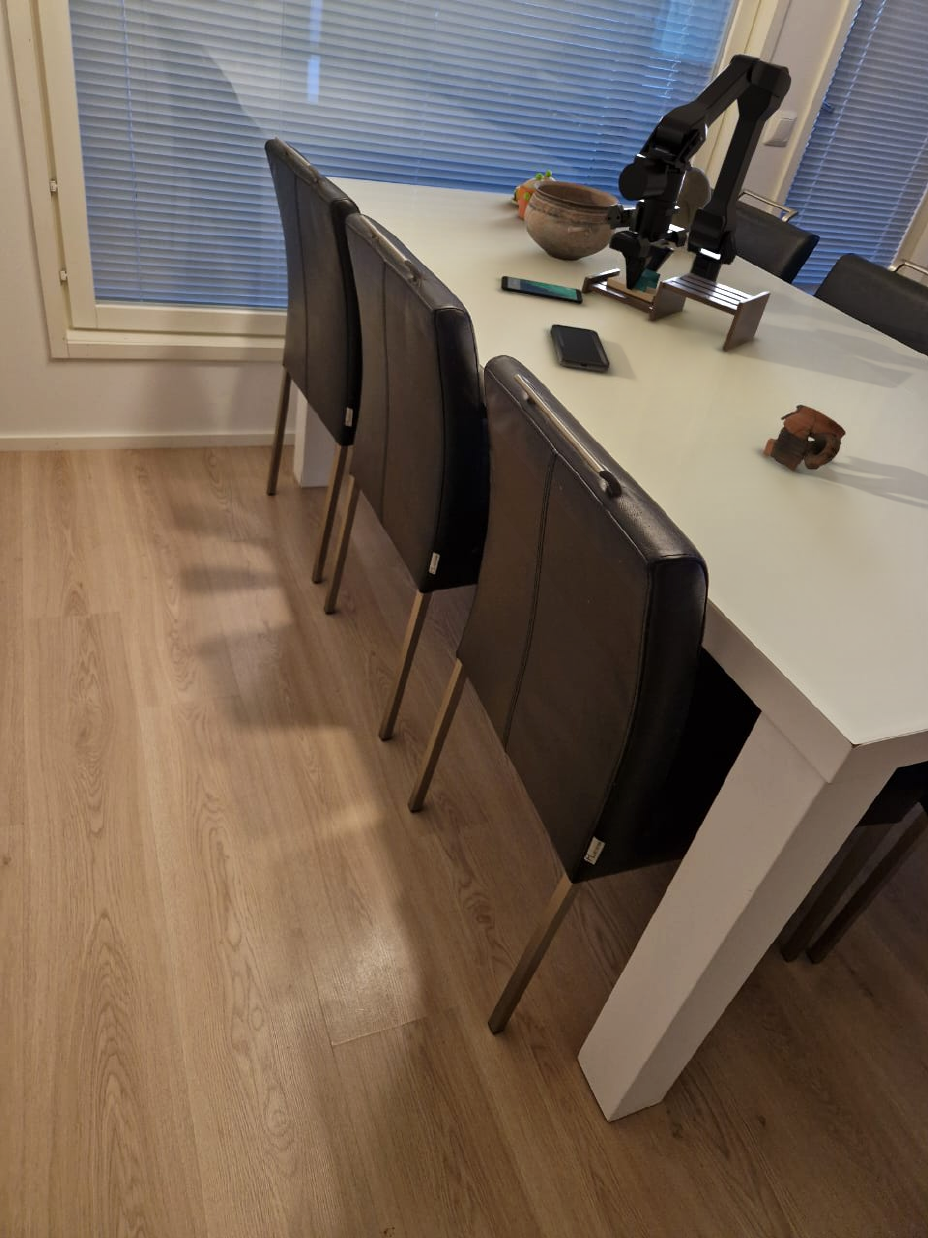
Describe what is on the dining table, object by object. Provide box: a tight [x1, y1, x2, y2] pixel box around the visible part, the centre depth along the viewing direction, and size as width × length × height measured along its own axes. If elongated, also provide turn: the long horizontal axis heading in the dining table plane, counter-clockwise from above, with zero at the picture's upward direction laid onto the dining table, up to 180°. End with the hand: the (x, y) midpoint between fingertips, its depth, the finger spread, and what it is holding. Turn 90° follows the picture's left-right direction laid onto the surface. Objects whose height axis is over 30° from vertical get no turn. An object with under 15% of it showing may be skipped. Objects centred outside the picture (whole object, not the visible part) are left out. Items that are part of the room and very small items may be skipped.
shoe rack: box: [580, 268, 771, 353], centre depth 158 cm, size 12×31×8 cm, turn 51°
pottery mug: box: [762, 404, 847, 472], centre depth 118 cm, size 12×10×8 cm
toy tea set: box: [510, 170, 556, 220], centre depth 204 cm, size 26×16×10 cm, turn 7°
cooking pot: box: [523, 180, 620, 262], centre depth 177 cm, size 25×19×12 cm
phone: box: [549, 323, 611, 373], centre depth 138 cm, size 8×1×15 cm
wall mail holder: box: [606, 268, 662, 302], centre depth 161 cm, size 5×10×4 cm, turn 51°
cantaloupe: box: [670, 165, 712, 234], centre depth 209 cm, size 14×14×15 cm
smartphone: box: [500, 275, 584, 305], centre depth 159 cm, size 7×1×15 cm
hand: (636, 287), depth 162 cm, fingers closed on wall mail holder, 5 cm apart
